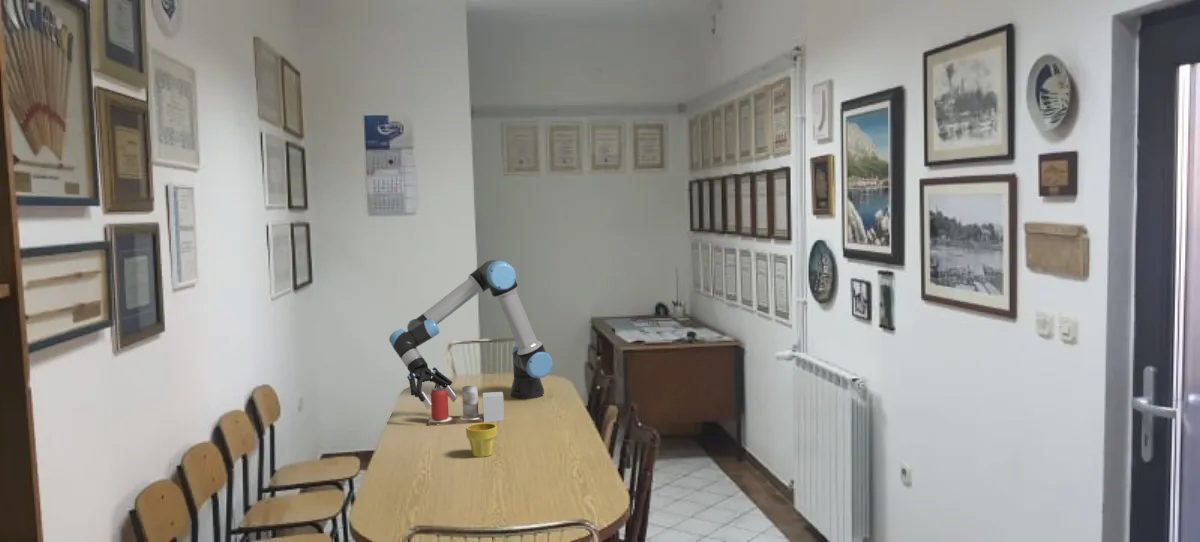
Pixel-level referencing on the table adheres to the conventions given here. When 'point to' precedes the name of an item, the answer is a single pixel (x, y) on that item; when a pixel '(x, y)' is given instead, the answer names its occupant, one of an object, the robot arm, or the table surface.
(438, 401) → the beer can
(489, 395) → the white upright block
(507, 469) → the table surface
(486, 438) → the plant pot
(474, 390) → the board
